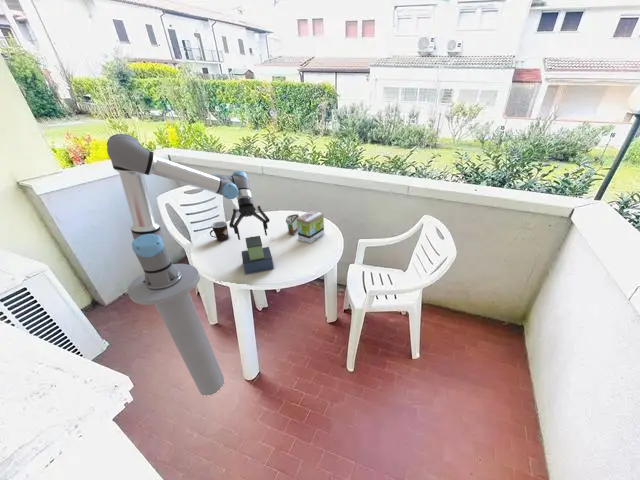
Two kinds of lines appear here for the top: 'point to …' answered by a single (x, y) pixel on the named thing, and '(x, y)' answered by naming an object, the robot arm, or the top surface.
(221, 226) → the coffee mug
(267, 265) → the blue tub
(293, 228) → the food container
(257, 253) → the green box
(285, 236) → the top surface
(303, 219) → the tea box
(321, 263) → the top surface
